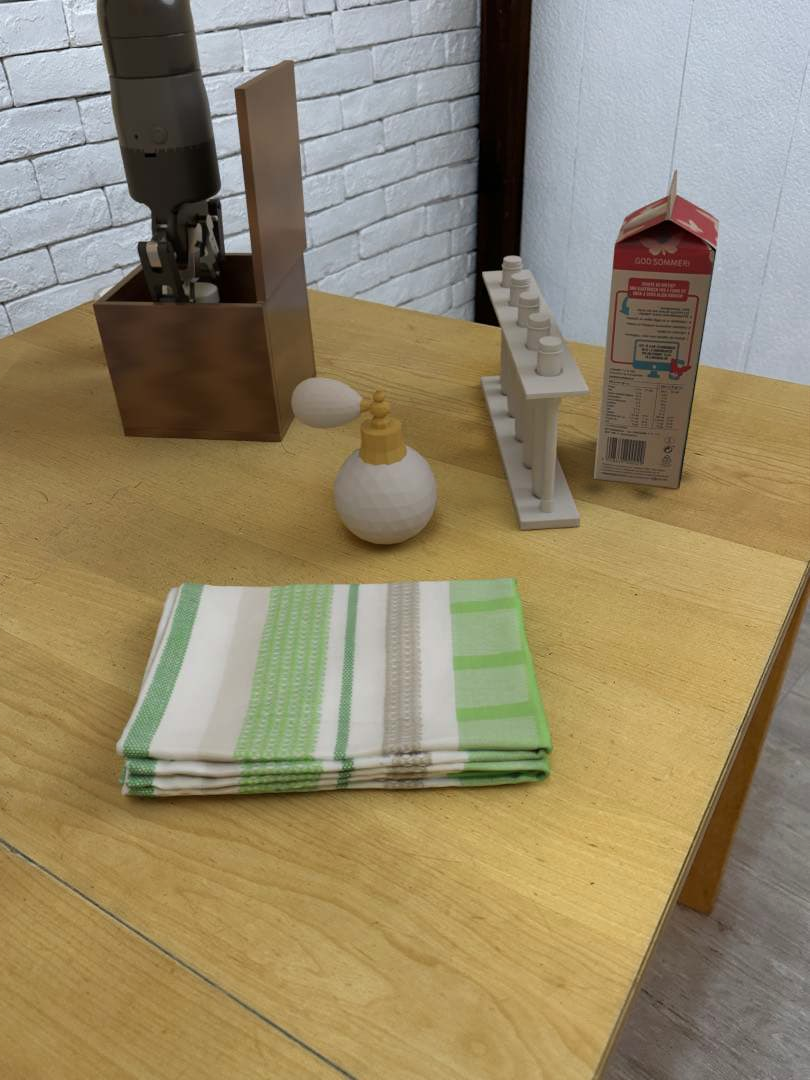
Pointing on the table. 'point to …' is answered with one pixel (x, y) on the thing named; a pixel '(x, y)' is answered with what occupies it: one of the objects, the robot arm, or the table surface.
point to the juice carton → (654, 340)
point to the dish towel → (337, 690)
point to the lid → (272, 174)
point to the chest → (208, 356)
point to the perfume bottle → (371, 464)
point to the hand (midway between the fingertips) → (201, 333)
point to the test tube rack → (530, 398)
